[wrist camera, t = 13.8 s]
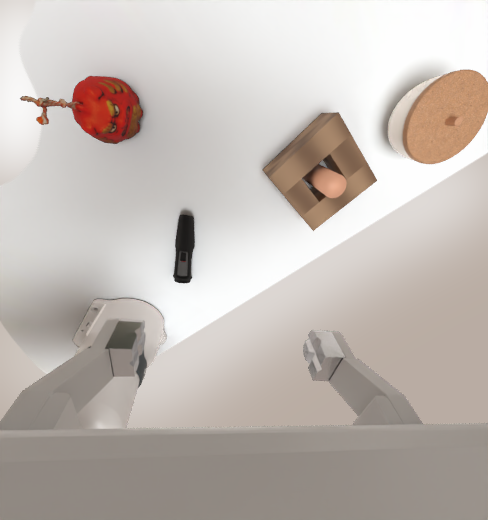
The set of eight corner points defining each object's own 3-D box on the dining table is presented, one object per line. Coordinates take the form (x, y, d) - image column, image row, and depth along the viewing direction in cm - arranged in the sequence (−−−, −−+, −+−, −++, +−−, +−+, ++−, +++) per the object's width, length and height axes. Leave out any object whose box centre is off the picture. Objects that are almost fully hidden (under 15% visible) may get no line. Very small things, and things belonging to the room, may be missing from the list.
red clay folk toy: (140, 148, 36) (96, 164, 23) (90, 129, 34) (13, 136, 21) (148, 91, 32) (102, 74, 20) (92, 67, 31) (3, 32, 18)
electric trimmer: (198, 211, 43) (197, 217, 40) (191, 279, 50) (190, 288, 47) (177, 208, 42) (174, 214, 39) (174, 278, 50) (171, 287, 47)
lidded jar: (361, 126, 37) (400, 128, 29) (422, 59, 33) (485, 40, 25) (396, 169, 41) (438, 182, 33) (453, 114, 37) (516, 113, 29)
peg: (307, 185, 41) (329, 202, 33) (298, 170, 40) (319, 184, 31) (323, 173, 40) (350, 188, 32) (314, 157, 39) (340, 169, 31)
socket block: (302, 217, 44) (313, 230, 39) (262, 169, 39) (268, 177, 34) (357, 172, 41) (377, 180, 36) (321, 113, 36) (338, 112, 31)
